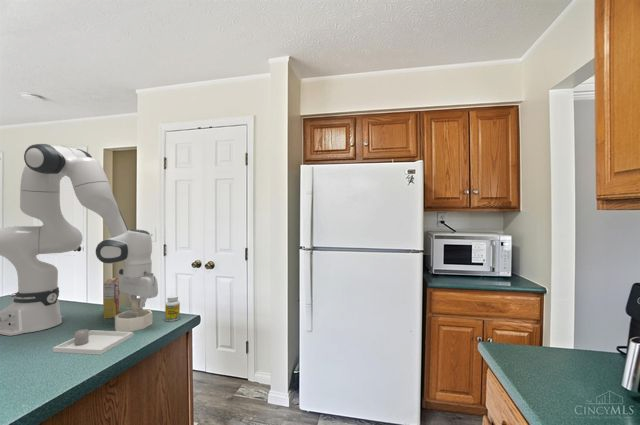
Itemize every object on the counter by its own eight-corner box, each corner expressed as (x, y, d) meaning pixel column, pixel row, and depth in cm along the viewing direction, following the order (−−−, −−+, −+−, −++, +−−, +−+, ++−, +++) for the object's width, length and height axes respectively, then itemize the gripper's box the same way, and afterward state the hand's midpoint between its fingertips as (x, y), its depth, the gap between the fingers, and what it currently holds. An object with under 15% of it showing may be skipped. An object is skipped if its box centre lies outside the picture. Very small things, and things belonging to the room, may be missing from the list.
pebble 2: (129, 311, 111) (130, 300, 111) (134, 308, 115) (134, 298, 115) (139, 310, 112) (140, 300, 112) (144, 308, 115) (144, 297, 115)
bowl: (107, 332, 108) (107, 318, 108) (130, 320, 120) (130, 308, 120) (137, 333, 107) (137, 320, 107) (157, 321, 119) (158, 309, 119)
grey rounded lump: (122, 326, 112) (122, 315, 112) (128, 322, 115) (128, 312, 115) (132, 326, 112) (132, 315, 112) (137, 322, 116) (137, 312, 116)
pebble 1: (71, 345, 95) (72, 333, 96) (81, 340, 99) (81, 328, 99) (81, 345, 95) (82, 333, 95) (91, 341, 99) (91, 329, 99)
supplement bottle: (178, 316, 126) (179, 294, 126) (180, 320, 121) (180, 297, 121) (164, 318, 123) (165, 295, 123) (165, 322, 118) (166, 299, 119)
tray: (52, 354, 91) (52, 347, 91) (91, 335, 105) (91, 330, 105) (100, 356, 89) (100, 350, 89) (133, 337, 103) (133, 332, 103)
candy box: (108, 312, 130) (109, 278, 130) (119, 311, 131) (120, 277, 132) (102, 319, 121) (103, 282, 122) (114, 317, 123) (115, 281, 123)
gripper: (162, 272, 112) (162, 308, 111) (131, 267, 121) (131, 300, 121) (146, 274, 106) (145, 312, 106) (115, 269, 115) (114, 304, 115)
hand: (137, 306), depth 113 cm, fingers open, 4 cm apart
